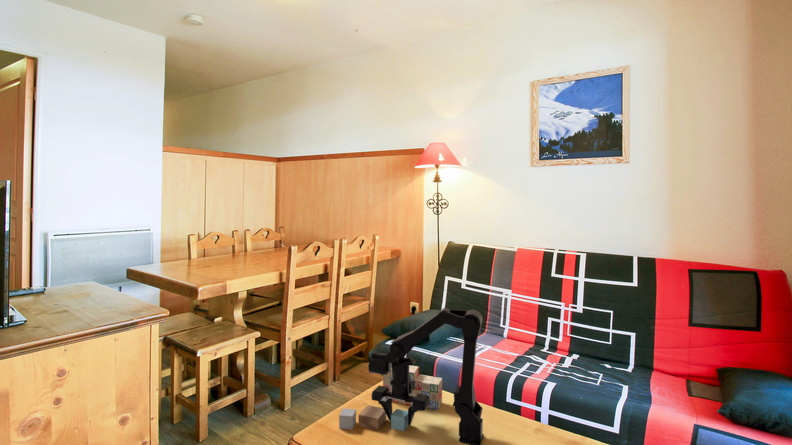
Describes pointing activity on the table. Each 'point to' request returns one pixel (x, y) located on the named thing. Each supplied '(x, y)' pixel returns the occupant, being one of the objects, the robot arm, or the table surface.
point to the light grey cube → (347, 419)
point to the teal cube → (399, 420)
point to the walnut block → (372, 417)
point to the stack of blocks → (420, 387)
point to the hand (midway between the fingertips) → (400, 423)
